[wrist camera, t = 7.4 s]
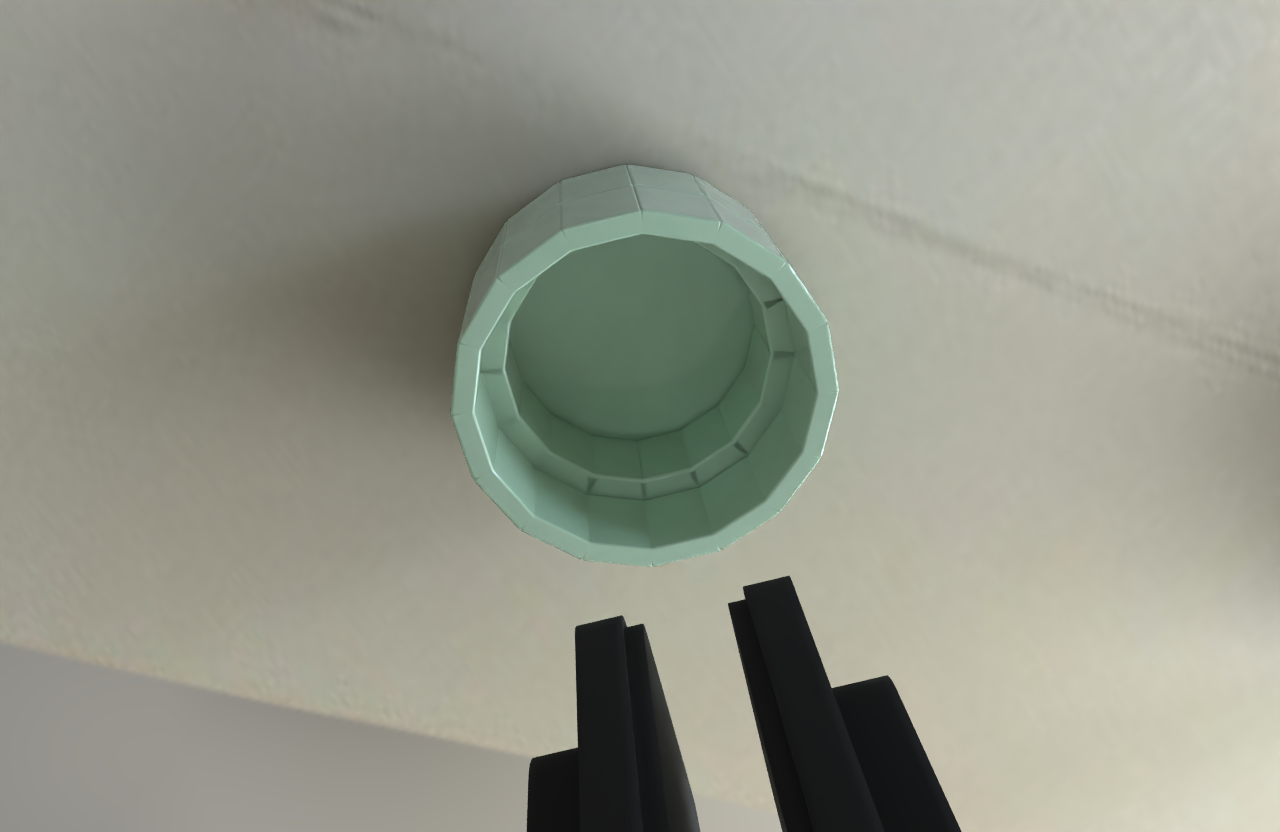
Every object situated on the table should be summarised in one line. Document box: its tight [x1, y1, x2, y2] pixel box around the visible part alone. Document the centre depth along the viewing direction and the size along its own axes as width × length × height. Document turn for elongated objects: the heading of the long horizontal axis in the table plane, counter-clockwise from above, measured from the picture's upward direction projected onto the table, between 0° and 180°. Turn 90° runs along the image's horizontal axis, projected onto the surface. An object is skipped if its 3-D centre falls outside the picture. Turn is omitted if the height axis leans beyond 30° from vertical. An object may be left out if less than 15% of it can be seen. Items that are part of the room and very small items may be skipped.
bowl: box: [450, 165, 839, 567], centre depth 21 cm, size 7×7×5 cm
